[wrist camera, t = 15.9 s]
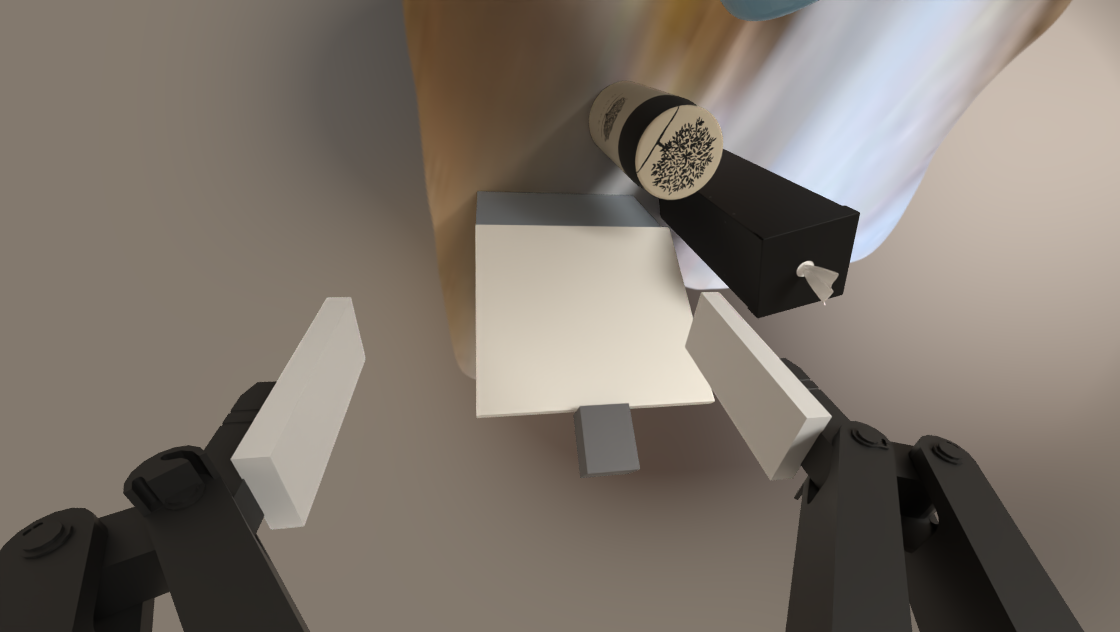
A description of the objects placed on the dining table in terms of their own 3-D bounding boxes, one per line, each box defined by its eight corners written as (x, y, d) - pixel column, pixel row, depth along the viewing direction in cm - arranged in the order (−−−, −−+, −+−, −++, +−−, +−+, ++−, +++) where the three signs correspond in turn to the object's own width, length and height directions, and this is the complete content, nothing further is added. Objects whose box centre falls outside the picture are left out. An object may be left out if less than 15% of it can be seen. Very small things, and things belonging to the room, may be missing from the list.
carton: (477, 191, 51) (475, 228, 41) (632, 195, 54) (665, 231, 44) (481, 312, 61) (481, 366, 51) (612, 310, 64) (635, 359, 54)
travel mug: (667, 111, 49) (745, 145, 34) (622, 167, 52) (677, 220, 37) (619, 64, 46) (684, 78, 31) (574, 126, 48) (614, 167, 34)
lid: (476, 236, 42) (474, 217, 39) (662, 238, 45) (673, 220, 42) (477, 487, 31) (476, 483, 29) (719, 465, 35) (737, 460, 32)
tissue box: (659, 217, 57) (778, 341, 34) (654, 159, 52) (788, 258, 29) (715, 201, 57) (871, 315, 34) (714, 142, 52) (895, 228, 29)
